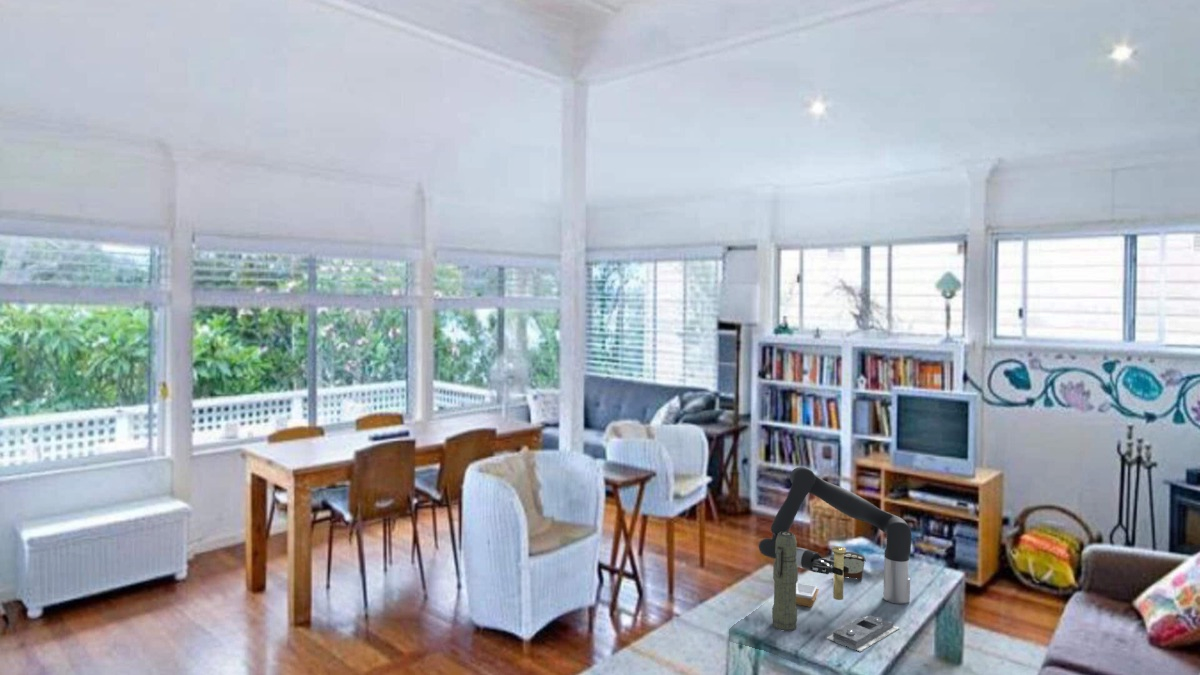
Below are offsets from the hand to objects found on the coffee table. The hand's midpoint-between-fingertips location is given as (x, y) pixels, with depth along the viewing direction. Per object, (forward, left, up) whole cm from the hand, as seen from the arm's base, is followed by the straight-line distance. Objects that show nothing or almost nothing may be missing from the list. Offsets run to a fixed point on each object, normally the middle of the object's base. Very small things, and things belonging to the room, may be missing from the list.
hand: (845, 571), depth 273 cm
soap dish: (+10, -21, -20) cm, 31 cm away
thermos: (+23, +3, -20) cm, 31 cm away
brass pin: (+2, -2, -11) cm, 11 cm away
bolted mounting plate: (-5, +8, -20) cm, 22 cm away
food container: (-18, -48, -20) cm, 55 cm away
